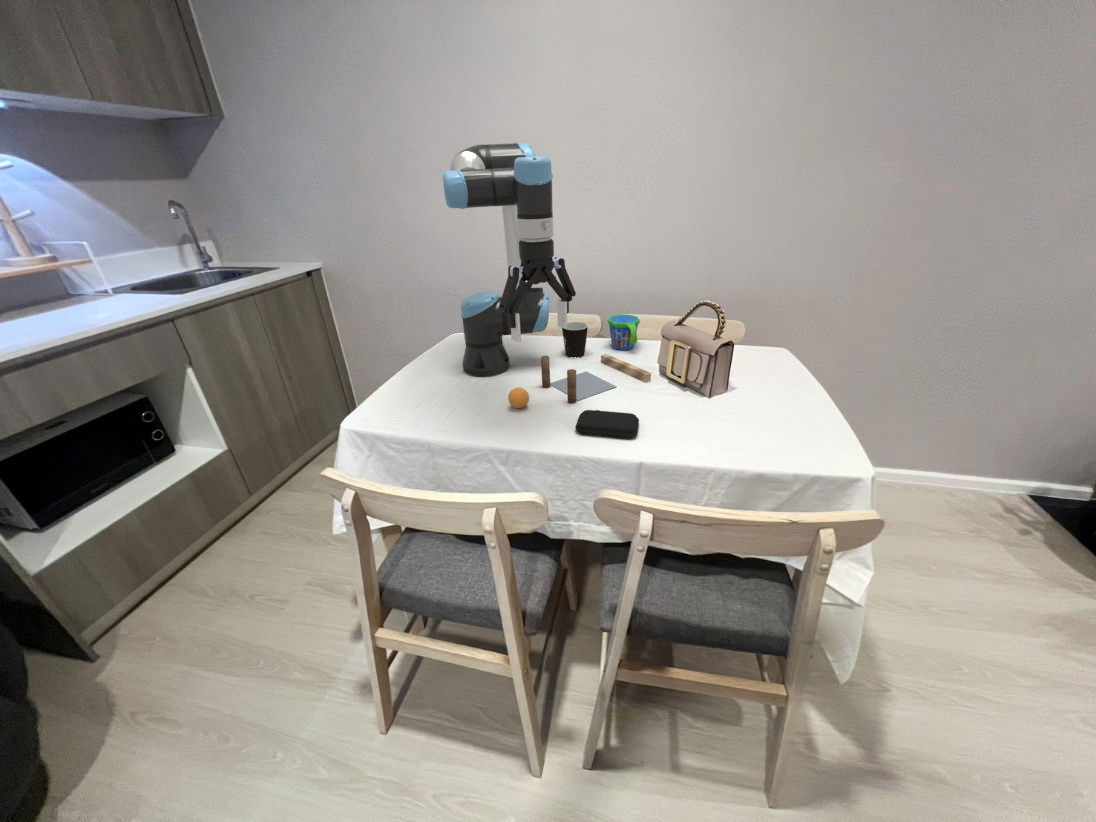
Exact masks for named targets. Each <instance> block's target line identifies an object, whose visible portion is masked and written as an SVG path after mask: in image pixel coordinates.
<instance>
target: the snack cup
mask: <svg viewBox="0 0 1096 822" xmlns="http://www.w3.org/2000/svg"><path fill="white" fill-rule="evenodd" d="M607 323H608V325H609V335H610V342H611V346H612V348H613V349H616V350H621V351H627V350H630V349H632V348H633V347H634V346H635V344H637V342H638V334H637V333H638V327H639V324H641V319H640V318H639V317H638V316H636V315H633V314H623V313H622V314H615V315H614V314H613V315H612V316H611V315H610V316H609V317H608V319H607Z"/></svg>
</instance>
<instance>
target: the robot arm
mask: <svg viewBox="0 0 1096 822" xmlns="http://www.w3.org/2000/svg"><path fill="white" fill-rule="evenodd" d="M449 167H450V169H449V170H446V171H444V172H443V174H442V183H443V191H444V198H445V203H446V206H447V207H448V208H449V209H460V210H464V209H469V208H470V209H472V208H485V207H486V208H487V207H501V208H502V209H501V210H502V220H503V221H502V222H503V229H504V230H503V231H504V240H505V241H504V242H505V251H506V262H507V274H508V275H507V279H506V282H505V286H504V288H503V292H502V296H500V295H499V293H498V292H496V291H482V292H477V293H475V294H470V295H469V296H467V297H465V298H464V299H462V301H461V304H460V310H461V314H460V318H461V319H462V326H463V327H462V328H463V334H464V335H463V336H464V342H465V349H464V354H463V357H462V371H463V372H464V373H465V374H466V375H469V376H472V377H481V378H482V377H483V378H486V377H491V376H497V375H500V374H503V373H505V372H508V370H509V369H510V367H511V360H510V356H509V354H508V352H507V349H506V348H505V346H504V345H505V344H504V342H503V341H504V340H503V336H511V340H512V341H513V342H516V343H522V336H521V335H523V334H526V335H527V334H534V333H541V332H545V330H546V329H547V328H548V323H549V317H550V295H549V294H548V293H546V292H544V288H543V286H542V285H541V283H543V284H544V283H547V284H548V285H549V286H550V288H552V290H553V291H554V292H555V294H556V295H557V296H558V297H559V299H557V301H556V302H557V303H556V304H557V305H556V306H557V309H556V310H557V326H558V327H559V328H561V329H562V328H564V329H566V328H567V323H568V314H569V312H570V302H572V300H573V297H576V294H577V293H576V290H575V288H574V287H575V286H574V285H573V282H572V281H571V278H570V276H569V274H568V271H567V268H566V261H565V259H564V258H561V257H557V256H556V257H554V256H555V243H554V242H555V241H554V240H553V238H552V237H554V218H553V216H554V214H553V213H554V212H553V176H554V175H553V171H552V160H551V159H550V158H549V157H548V156H537V155H536V153H535V150H534V148H533V147H532V145H530V144H529V143H521V142H519V143H518V142H513V143H492V144H491V143H490V144H489V143H488V144H485V143H484V144H483V143H482V144H477V145H472V146H469V147H467V148H465V149H462V150H460V151H459V152H457V153H456V154H455V156H454V157H453V158H452V160H451V163H450V166H449ZM553 257H554V258H553ZM553 270H554V271H555V273H556V275H557V276H558V279H557V277H556V275H555V274H554V273H553ZM558 280H559V281H558Z"/></svg>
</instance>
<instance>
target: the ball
mask: <svg viewBox="0 0 1096 822" xmlns="http://www.w3.org/2000/svg"><path fill="white" fill-rule="evenodd" d="M507 398H508V403H509V404H510V406H511V407H513V408H515V409H523V408H524V407H526V406H527V404H528V403H529V402H530V401H529V400H530V395H529V393H528V391H527V390H526V389H525V388H523V387H515V388H512V389H511V390H510V392H509V394H508V396H507Z"/></svg>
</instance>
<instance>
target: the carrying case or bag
mask: <svg viewBox="0 0 1096 822" xmlns="http://www.w3.org/2000/svg"><path fill="white" fill-rule="evenodd" d="M639 424H640V418H639V417H637V415H636V414H634V413H631V412H617V411H609V410H599V409H596V410H595V409H594V410H592V409H586V410H583V411H582V412H581V413H580V414H579V416H578V419H577V421H576V424H575V428H574V429H575V430H576V432H577V433H578V434H580V435H583V436H584V435H585V436H595V437H603V438H605V437H606V438H617V439H625V440H627V439H633V438H635V437H636V436H637V434H638V430H639Z"/></svg>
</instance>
